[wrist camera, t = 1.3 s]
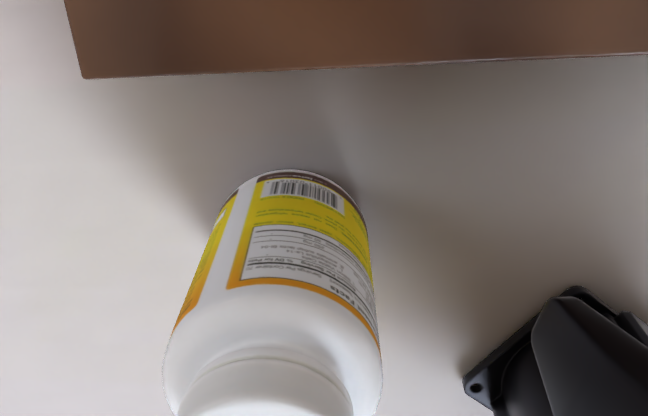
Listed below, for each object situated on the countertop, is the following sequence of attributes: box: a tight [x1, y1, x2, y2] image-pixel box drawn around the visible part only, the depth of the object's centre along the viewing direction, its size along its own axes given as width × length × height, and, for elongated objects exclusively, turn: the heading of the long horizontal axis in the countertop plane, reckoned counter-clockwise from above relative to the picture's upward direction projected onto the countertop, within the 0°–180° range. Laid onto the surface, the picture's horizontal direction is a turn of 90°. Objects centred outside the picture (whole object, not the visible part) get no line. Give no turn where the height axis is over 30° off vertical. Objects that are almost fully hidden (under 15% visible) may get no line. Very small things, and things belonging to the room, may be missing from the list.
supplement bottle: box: [162, 169, 383, 416], centre depth 17 cm, size 6×6×10 cm
